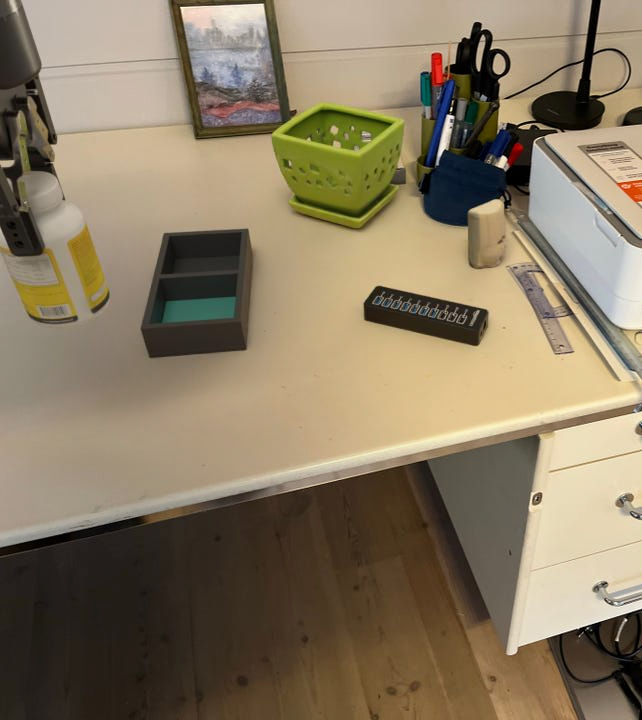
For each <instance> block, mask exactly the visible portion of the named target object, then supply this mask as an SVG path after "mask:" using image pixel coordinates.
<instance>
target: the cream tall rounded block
mask: <svg viewBox="0 0 642 720" xmlns="http://www.w3.org/2000/svg"><path fill="white" fill-rule="evenodd" d="M467 246H468V247H467V253H468V254H467V255H468V264H469V266H470V267H472V268H474V269H483V268H493V267H496V266H498V265H499V264H501V260H500V259H501V258H502V257H503V256H504V253H505V252H506V249H507V226H506V217H505V203H504V202H503V201H502V200H501V199H499V198H497V199H492V200H490V201H488V202H485V203H483V204H480V205H477V206H475V207H473V208H470V209H469V210H468V212H467Z"/></svg>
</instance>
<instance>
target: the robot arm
mask: <svg viewBox="0 0 642 720" xmlns="http://www.w3.org/2000/svg"><path fill="white" fill-rule="evenodd" d="M42 65H43V64H42V60H41V57H40V54H39V50H38V48H37V44H36V41H35V38H34V35H33V32H32V29H31V26H30V23H29V20H28V17H27V14H26V10H25V8H24V4H23V2H22V0H0V162H3V161H13V163H12V165H10V166H2V165H1V164H0V228H1V230H2V233H3V235H4V237H5V240H6V242H7V245H8V247H9V249H10V252H11V253H12V254H13V255H14V256H17V257H26V256H39V255H41V254H42V253H43V251H44V249H45V244H44V242H43V239H42V237H41V234H40V231H39V229H38V226H37V223H36V221H35V218H34V216H33V213H32V210H31V208H30V207H29V202H28V197H27V192H26V186H25V179H26V178H28V177H29V176H30V174H31V171H42V172H47V173H50V174H52V175H54V176H55V177H56V178H57V180H58V182H59V185H60V187H61V190H62V193H63V198H62V200H65V201H67V200H66V197H65V194H64V191H63V189H62V188H63V187H62V185H61V183H60V180H59V177H58V173H57V172H56V169H55V168H56V167H55V166H54V162H55V158H56V153H55V151H54V150H53V147H52V146H56V145H57V144H58V135H57V133H56V129H55V126H54V122H53V119H52V116H51V112H50V109H49V105H48V102H47V99H46V95H45V92H44V89H43V86H42V82H41V79H40V72H41V70H42V68H43V66H42ZM7 178H8V179H10V181H11V184H12V190H13V192H12V190H11V187H10V185H9V183H8V181H7Z"/></svg>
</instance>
